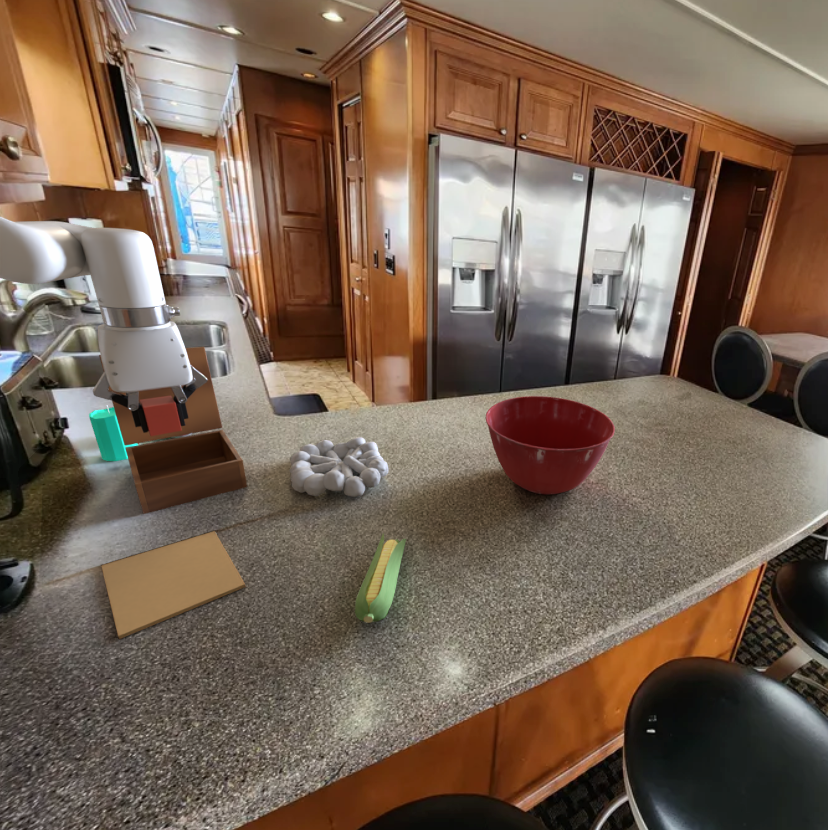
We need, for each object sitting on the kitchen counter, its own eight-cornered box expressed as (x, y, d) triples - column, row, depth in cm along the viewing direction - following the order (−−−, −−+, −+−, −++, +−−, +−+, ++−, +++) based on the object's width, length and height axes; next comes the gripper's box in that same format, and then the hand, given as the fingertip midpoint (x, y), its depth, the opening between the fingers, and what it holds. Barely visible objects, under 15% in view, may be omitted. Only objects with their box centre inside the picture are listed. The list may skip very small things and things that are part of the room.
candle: (145, 457, 98) (131, 405, 93) (108, 467, 93) (92, 413, 89) (134, 448, 101) (120, 397, 96) (97, 457, 96) (81, 404, 91)
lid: (204, 346, 94) (203, 346, 94) (98, 355, 83) (98, 354, 84) (222, 427, 98) (221, 427, 99) (124, 445, 88) (124, 444, 88)
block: (181, 430, 76) (175, 402, 74) (150, 436, 74) (143, 407, 72) (177, 422, 79) (170, 395, 77) (146, 427, 76) (139, 399, 74)
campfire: (258, 480, 94) (254, 455, 92) (345, 445, 112) (343, 423, 109) (331, 517, 85) (328, 491, 83) (413, 473, 103) (412, 449, 101)
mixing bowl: (629, 485, 108) (640, 425, 102) (544, 533, 88) (552, 462, 82) (544, 441, 125) (549, 388, 119) (457, 473, 105) (458, 411, 99)
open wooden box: (248, 490, 91) (242, 459, 88) (144, 517, 80) (134, 484, 78) (228, 457, 101) (222, 429, 99) (134, 477, 91) (125, 447, 88)
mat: (99, 559, 70) (98, 555, 70) (209, 524, 80) (209, 521, 80) (119, 639, 58) (117, 636, 58) (245, 587, 68) (245, 583, 68)
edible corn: (349, 634, 63) (346, 608, 61) (381, 540, 81) (380, 519, 79) (388, 632, 63) (387, 607, 62) (412, 540, 82) (411, 519, 80)
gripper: (199, 309, 77) (218, 409, 84) (55, 314, 66) (91, 430, 73) (209, 318, 73) (229, 423, 79) (57, 325, 61) (95, 447, 68)
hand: (163, 425), depth 76 cm, fingers closed on block, 4 cm apart
